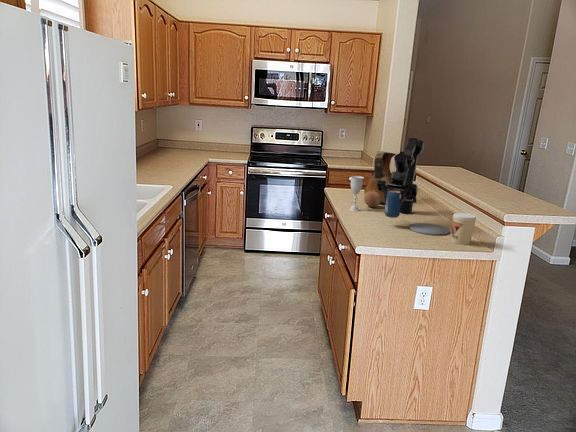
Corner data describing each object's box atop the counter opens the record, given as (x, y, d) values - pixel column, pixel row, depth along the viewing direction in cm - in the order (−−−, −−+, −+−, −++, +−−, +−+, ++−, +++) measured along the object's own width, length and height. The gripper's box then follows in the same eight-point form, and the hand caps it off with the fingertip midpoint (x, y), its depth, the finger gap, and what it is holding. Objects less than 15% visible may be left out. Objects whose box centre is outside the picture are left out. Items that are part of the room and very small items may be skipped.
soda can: (402, 216, 219) (405, 191, 216) (394, 218, 214) (396, 193, 211) (389, 213, 224) (392, 189, 221) (381, 215, 219) (384, 190, 216)
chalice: (362, 209, 252) (365, 176, 247) (359, 212, 245) (362, 178, 241) (348, 207, 254) (351, 175, 250) (346, 210, 248) (349, 177, 243)
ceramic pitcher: (401, 201, 278) (407, 151, 270) (390, 207, 261) (395, 154, 254) (371, 196, 287) (376, 148, 280) (358, 201, 271) (362, 150, 264)
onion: (362, 205, 263) (363, 187, 261) (378, 206, 263) (380, 188, 260) (364, 208, 254) (366, 191, 251) (381, 209, 254) (383, 191, 251)
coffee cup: (445, 238, 205) (449, 212, 202) (466, 239, 205) (470, 212, 203) (455, 245, 196) (459, 217, 193) (476, 245, 196) (480, 218, 194)
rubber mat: (427, 223, 229) (428, 221, 229) (457, 233, 214) (457, 231, 214) (400, 226, 220) (401, 224, 220) (429, 237, 205) (429, 235, 205)
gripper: (379, 163, 220) (371, 189, 214) (419, 167, 213) (411, 194, 206) (382, 177, 229) (374, 202, 222) (420, 181, 222) (413, 208, 215)
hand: (392, 202), depth 216 cm, fingers closed on soda can, 7 cm apart
